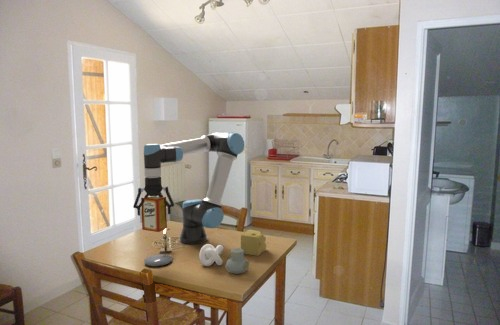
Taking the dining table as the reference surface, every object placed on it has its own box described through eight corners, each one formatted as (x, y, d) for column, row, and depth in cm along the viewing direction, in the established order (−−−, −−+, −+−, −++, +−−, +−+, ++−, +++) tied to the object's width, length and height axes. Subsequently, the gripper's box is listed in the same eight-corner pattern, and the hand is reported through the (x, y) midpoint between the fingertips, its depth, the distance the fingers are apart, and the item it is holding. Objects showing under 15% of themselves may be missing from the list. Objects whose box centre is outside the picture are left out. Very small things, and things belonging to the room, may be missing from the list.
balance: (171, 246, 199) (171, 221, 198) (171, 255, 186) (170, 229, 184) (160, 247, 198) (159, 222, 197) (159, 256, 185) (158, 230, 183)
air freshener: (240, 277, 160) (240, 255, 159) (223, 274, 164) (223, 253, 162) (250, 268, 170) (250, 247, 169) (234, 265, 174) (234, 245, 172)
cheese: (266, 249, 194) (266, 231, 193) (258, 256, 185) (258, 237, 183) (248, 247, 199) (248, 229, 197) (239, 253, 189) (239, 234, 188)
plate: (172, 256, 185) (172, 253, 185) (171, 266, 173) (171, 263, 172) (145, 258, 183) (145, 255, 183) (143, 268, 170) (143, 265, 170)
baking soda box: (167, 228, 177) (166, 195, 175) (158, 232, 172) (157, 198, 170) (151, 225, 181) (150, 194, 179) (142, 229, 175) (141, 196, 173)
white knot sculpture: (230, 266, 173) (229, 247, 172) (206, 271, 167) (206, 252, 166) (219, 258, 183) (219, 240, 182) (197, 262, 177) (196, 245, 176)
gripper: (178, 174, 179) (180, 218, 181) (128, 176, 175) (130, 220, 178) (178, 177, 171) (179, 222, 174) (125, 178, 168) (127, 224, 170)
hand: (154, 221), depth 176 cm, fingers closed on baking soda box, 11 cm apart
